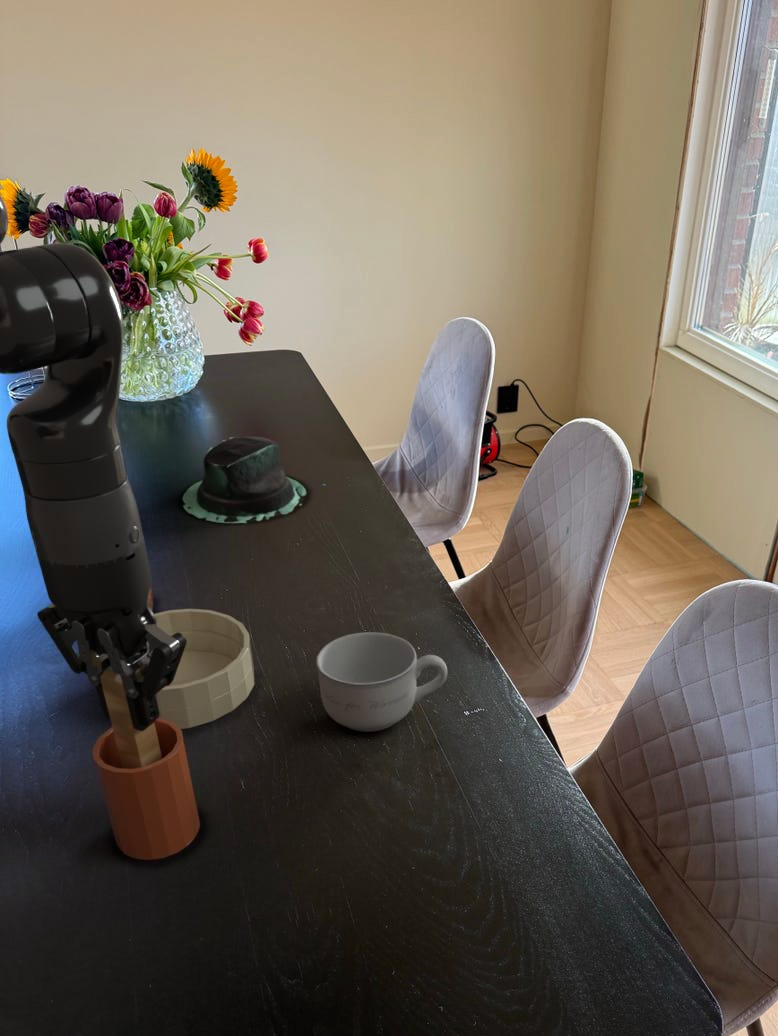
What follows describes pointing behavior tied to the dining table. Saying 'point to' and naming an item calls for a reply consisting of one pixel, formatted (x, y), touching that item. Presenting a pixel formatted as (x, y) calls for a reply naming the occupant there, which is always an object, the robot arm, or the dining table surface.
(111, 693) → the wooden pestle
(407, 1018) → the dining table surface
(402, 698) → the teacup
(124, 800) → the crock
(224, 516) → the dark fedora hat
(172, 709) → the bowl
